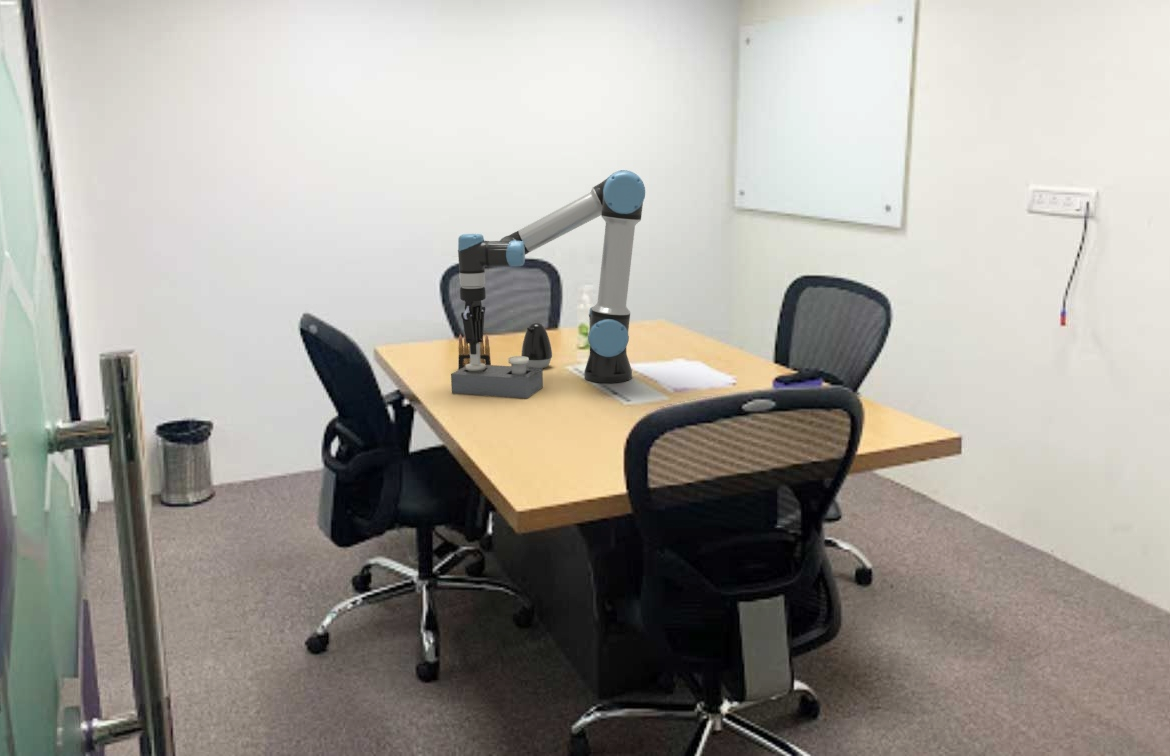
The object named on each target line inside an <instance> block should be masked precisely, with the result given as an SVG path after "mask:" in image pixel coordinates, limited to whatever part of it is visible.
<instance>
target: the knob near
mask: <svg viewBox="0 0 1170 756" xmlns="http://www.w3.org/2000/svg"><path fill="white" fill-rule="evenodd" d="M528 362H529V358H528V357H525V356H520V355H518V356H517V355H516V356H510V357H508V364H510V366H511V370H512V374H514V375H526V367H527V366H526V363H528Z"/></svg>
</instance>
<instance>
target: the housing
mask: <svg viewBox="0 0 1170 756" xmlns="http://www.w3.org/2000/svg"><path fill="white" fill-rule="evenodd" d="M543 369H544V368H531V367H527V366H526V375H514V374H512V370H511V365H497V364H496V365H495V364H491V365H486V369H485V370H483V372H469V371H468V370H466V366H465V367H463V368H461V369H459V370H458V369H457V370H456V371H453V372H452V373H450V384H451V385H450V386H451V394H456V395H471V396H483V397H486V396H487V397H498V398H513V399H528V398H530V397H531V396H532V395H534V394H536V393H537V392H539V391H540V390H541V389H542V388H544V379H543V378H544V374H543V372H544V371H543Z"/></svg>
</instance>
